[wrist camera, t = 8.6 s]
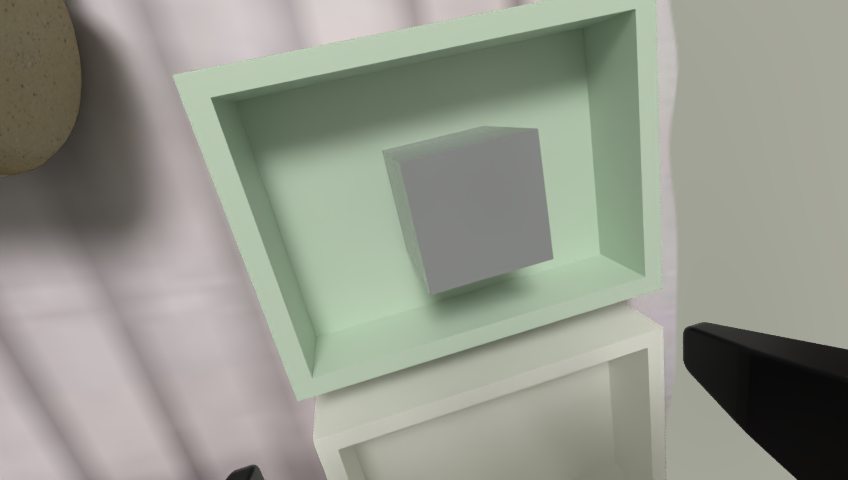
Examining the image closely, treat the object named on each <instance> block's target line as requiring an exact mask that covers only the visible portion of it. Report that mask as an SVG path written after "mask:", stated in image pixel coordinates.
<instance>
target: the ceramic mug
mask: <svg viewBox="0 0 848 480" xmlns="http://www.w3.org/2000/svg"><path fill="white" fill-rule="evenodd" d="M81 85H82V76H81V63H80V55H79V50H78V45H77V40H76V35H75V31H74V27H73V24H72V21H71V18H70V16H69V13H68V10H67V8H66V5H65V3H64V1H63V0H0V177H3V176H9V175H14V174H19V173H23V172H27V171H31V170H33V169H35V168H37V167H39V166H41V165H43V164H44V163H45V162H46V161H47V160H48V159H50V158H51V157H52V156H53V155H54V154H55V153H56V152H57V151H58V150H59V149H60V148H61V146H62V145H63V144H64V143H65V142H66V140H67V138H68V136H69V135H70V133H71V131H72V129H73V127H74V125H75V122H76V119H77V115H78V112H79V108H80V98H81Z"/></svg>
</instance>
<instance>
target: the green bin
mask: <svg viewBox="0 0 848 480" xmlns="http://www.w3.org/2000/svg"><path fill="white" fill-rule="evenodd" d="M172 76H173V79H174V81H175V84H176V86H177V89H178V92H179V94H180V97H181V99H182V102H183V105H184V107H185V110H186V112H187V115H188V118H189V120H190V123H191V125H192V128H193V131H194V133H195V136H196V138H197V141H198V144H199V146H200V149H201V151H202V154H203V157H204V159H205V162H206V164H207V167H208V170H209V172H210V175H211V178H212V180H213V183H214V185H215V188H216V191H217V193H218V196H219V198H220V201H221V204H222V206H223V209H224V211H225V214H226V217H227V219H228V222H229V224H230V227H231V230H232V232H233V235H234V237H235V240H236V243H237V245H238V248H239V250H240V253H241V256H242V258H243V261H244V263H245V266H246V269H247V271H248V274H249V276H250V279H251V282H252V284H253V287H254V289H255V292H256V295H257V297H258V300H259V302H260V305H261V308H262V310H263V313H264V315H265V318H266V321H267V323H268V326H269V328H270V331H271V334H272V336H273V339H274V341H275V344H276V347H277V349H278V352H279V354H280V357H281V360H282V362H283V365H284V367H285V370H286V373H287V375H288V378H289V380H290V383H291V386H292V388H293V391H294V393H295V396H296V399H297V401H301V400H305V399H308V398H311V397H314V396H317V395H321V394H324V393H327V392H330V391H334V390H337V389H340V388H343V387H346V386H350V385H353V384H356V383H359V382H363V381H366V380H369V379H372V378H375V377H379V376H382V375H385V374H388V373H392V372H395V371H398V370H401V369H404V368H408V367H411V366H414V365H417V364H421V363H424V362H427V361H430V360H434V359H437V358H440V357H443V356H446V355H450V354H453V353H456V352H459V351H463V350H466V349H469V348H472V347H475V346H479V345H482V344H485V343H488V342H492V341H495V340H498V339H501V338H504V337H508V336H511V335H514V334H517V333H521V332H524V331H527V330H530V329H533V328H537V327H540V326H543V325H546V324H550V323H553V322H556V321H559V320H562V319H566V318H569V317H572V316H575V315H579V314H582V313H585V312H588V311H592V310H595V309H598V308H601V307H604V306H608V305H611V304H614V303H617V302H621V301H624V300H627V299H630V298H633V297H637V296H640V295H643V294H646V293H650V292H653V291H656V290H659V289H662V257H661V211H660V164H659V118H658V72H657V25H656V0H546V1H541V2H536V3H531V4H526V5H521V6H516V7H511V8H506V9H501V10H496V11H491V12H486V13H481V14H476V15H471V16H466V17H461V18H456V19H451V20H446V21H441V22H436V23H431V24H426V25H421V26H416V27H411V28H406V29H401V30H396V31H391V32H386V33H381V34H376V35H371V36H366V37H361V38H356V39H351V40H346V41H341V42H336V43H331V44H326V45H321V46H316V47H311V48H306V49H301V50H296V51H290V52H285V53H280V54H275V55H270V56H265V57H260V58H255V59H250V60H245V61H240V62H235V63H230V64H225V65H220V66H215V67H210V68H205V69H200V70H195V71H190V72H185V73H180V74H175V75H172ZM481 126H497V127H517V128H536V129H538V133H539V141H540V150H541V158H542V166H543V175H544V183H545V191H546V200H547V208H548V216H549V225H550V233H551V242H552V250H553V258H554V259H552V260H549V261H545V262H542V263H538V264H535V265H532V266H528V267H525V268H521V269H518V270H515V271H511V272H508V273H504V274H501V275H497V276H494V277H491V278H487V279H484V280H480V281H477V282H474V283H470V284H467V285H463V286H460V287H457V288H453V289H450V290H446V291H443V292H439V293H436V294H433V295H430V293H429V292H428V290H427V288H426V286H425V284H424V282H423V280H422V278H421V276H420V275H419V273H418V271H417V269H416V267H415V265H414V263H413V261H412V259H411V257H410V256H409V254H408V252H407V250H406V246H405V242H404V238H403V234H402V230H401V226H400V222H399V217H398V213H397V209H396V205H395V201H394V197H393V193H392V189H391V185H390V181H389V177H388V173H387V169H386V165H385V160H384V156H383V152H382V150H386V149H390V148H394V147H399V146H403V145H407V144H411V143H415V142H419V141H423V140H428V139H432V138H436V137H440V136H444V135H448V134H452V133H456V132H461V131H465V130H469V129H473V128H477V127H481Z"/></svg>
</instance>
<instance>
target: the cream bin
mask: <svg viewBox="0 0 848 480" xmlns="http://www.w3.org/2000/svg"><path fill="white" fill-rule="evenodd" d="M313 443H314V445H315V448H316V451H317V453H318V456H319V458H320V461H321V464H322V466H323V469H324V471H325V474H326V477H327V479H328V480H666V442H665V396H664V350H663V327H661V326H660V325H658V324H657V323H655V322H653V321H652V320H650V319H649V318H647V317H646V316H644V315H643V314H641V313H639V312H638V311H636V310H635V309H633V308H632V307H630V306H628V305H627V304H625V303H624V302H622V301H621V302H617V303H614V304H611V305H608V306H604V307H601V308H598V309H595V310H592V311H588V312H585V313H582V314H579V315H575V316H572V317H569V318H566V319H562V320H559V321H556V322H553V323H550V324H546V325H543V326H540V327H537V328H533V329H530V330H527V331H524V332H521V333H517V334H514V335H511V336H508V337H504V338H501V339H498V340H495V341H492V342H488V343H485V344H482V345H479V346H475V347H472V348H469V349H466V350H463V351H459V352H456V353H453V354H450V355H446V356H443V357H440V358H437V359H434V360H430V361H427V362H424V363H421V364H417V365H414V366H411V367H408V368H404V369H401V370H398V371H395V372H392V373H388V374H385V375H382V376H379V377H375V378H372V379H369V380H366V381H363V382H359V383H356V384H353V385H350V386H346V387H343V388H340V389H337V390H334V391H330V392H327V393H324V394H321V395H317V396H316V406H315V419H314V433H313Z"/></svg>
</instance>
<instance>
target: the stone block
mask: <svg viewBox="0 0 848 480" xmlns="http://www.w3.org/2000/svg"><path fill="white" fill-rule="evenodd" d="M382 152H383V156H384V160H385V165H386V169H387V173H388V177H389V181H390V185H391V189H392V193H393V197H394V201H395V205H396V209H397V213H398V217H399V222H400V226H401V230H402V234H403V238H404V242H405V246H406V250H407V252H408V254H409V256H410V257H411V259H412V261H413V263H414V265H415V267H416V269H417V271H418V273H419V275H420V276H421V278H422V280H423V282H424V284H425V286H426V288H427V290H428V292H429V293H430V295H433V294H436V293H439V292H443V291H446V290H450V289H453V288H457V287H460V286H463V285H467V284H470V283H474V282H477V281H480V280H484V279H487V278H491V277H494V276H497V275H501V274H504V273H508V272H511V271H515V270H518V269H521V268H525V267H528V266H532V265H535V264H538V263H542V262H545V261H549V260H552V259H554V258H553V250H552V242H551V233H550V225H549V216H548V208H547V200H546V191H545V183H544V175H543V166H542V158H541V150H540V141H539V133H538V129H536V128H517V127H497V126H481V127H477V128H473V129H469V130H465V131H461V132H456V133H452V134H448V135H444V136H440V137H436V138H432V139H428V140H423V141H419V142H415V143H411V144H407V145H403V146H399V147H394V148H390V149H386V150H382Z"/></svg>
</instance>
